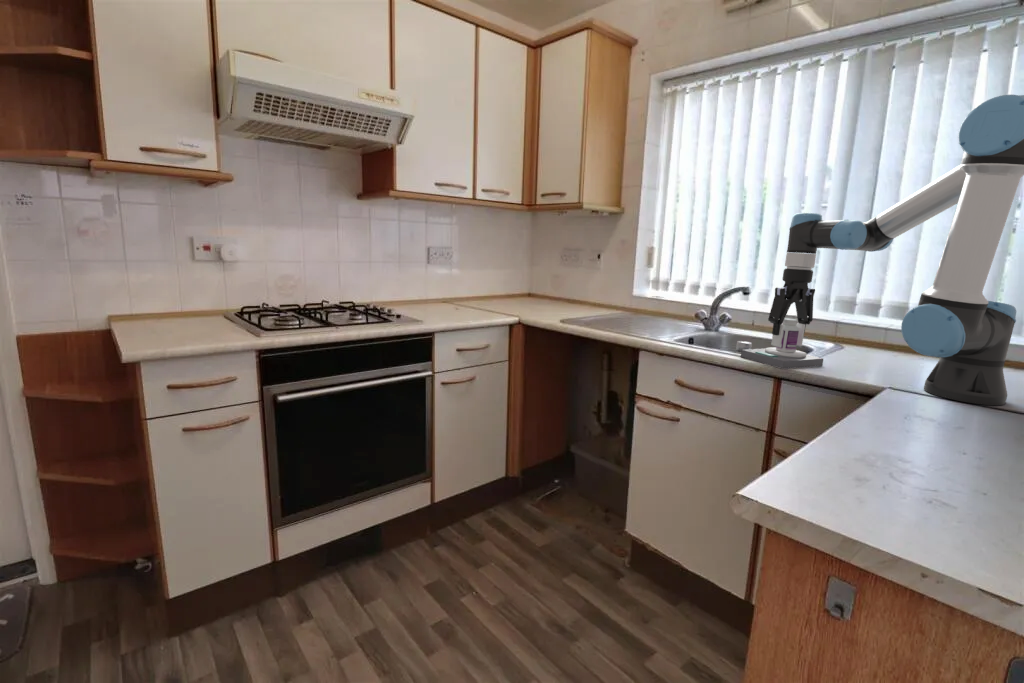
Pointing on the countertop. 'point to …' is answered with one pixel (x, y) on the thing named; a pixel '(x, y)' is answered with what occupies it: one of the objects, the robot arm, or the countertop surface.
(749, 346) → the spacer
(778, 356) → the scale
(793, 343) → the pill bottle
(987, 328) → the robot arm
